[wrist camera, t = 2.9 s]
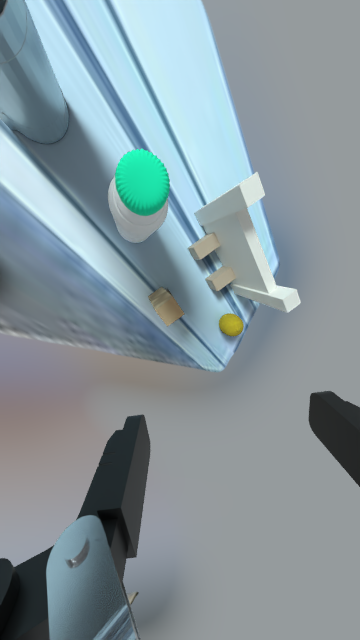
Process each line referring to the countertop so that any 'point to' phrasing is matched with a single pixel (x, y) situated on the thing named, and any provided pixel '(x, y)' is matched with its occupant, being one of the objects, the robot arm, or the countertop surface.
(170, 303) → the tan wooden block
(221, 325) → the lemon
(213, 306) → the countertop surface
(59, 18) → the countertop surface
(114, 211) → the water bottle
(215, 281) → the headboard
